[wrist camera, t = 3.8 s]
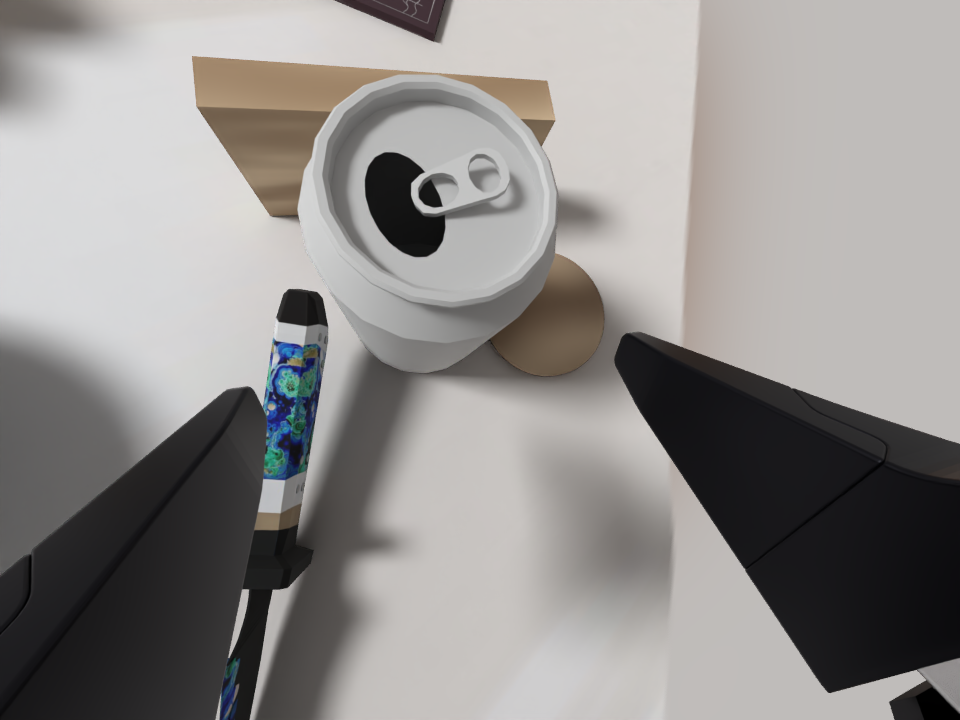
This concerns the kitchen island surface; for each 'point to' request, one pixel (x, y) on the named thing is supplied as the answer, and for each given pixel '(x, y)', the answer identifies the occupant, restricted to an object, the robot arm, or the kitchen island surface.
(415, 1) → the chocolate bar
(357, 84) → the plinth board
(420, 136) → the can
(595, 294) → the coaster
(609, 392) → the kitchen island surface
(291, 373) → the knife
